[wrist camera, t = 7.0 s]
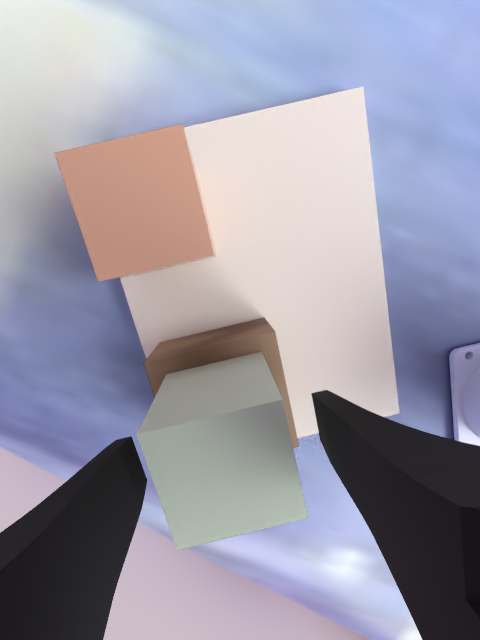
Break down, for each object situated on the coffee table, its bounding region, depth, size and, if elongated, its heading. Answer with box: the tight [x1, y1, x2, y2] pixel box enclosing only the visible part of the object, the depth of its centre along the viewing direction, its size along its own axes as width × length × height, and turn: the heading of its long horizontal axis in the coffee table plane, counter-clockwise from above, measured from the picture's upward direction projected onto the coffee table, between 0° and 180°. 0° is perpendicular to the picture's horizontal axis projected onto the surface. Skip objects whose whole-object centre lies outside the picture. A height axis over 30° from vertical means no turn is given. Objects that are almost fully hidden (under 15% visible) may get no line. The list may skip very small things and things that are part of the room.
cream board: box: [120, 87, 399, 438], centre depth 16 cm, size 14×18×1 cm
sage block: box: [136, 351, 308, 550], centre depth 11 cm, size 4×4×4 cm
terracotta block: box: [54, 124, 217, 282], centre depth 12 cm, size 4×4×4 cm
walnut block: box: [144, 317, 299, 448], centre depth 14 cm, size 6×6×3 cm
